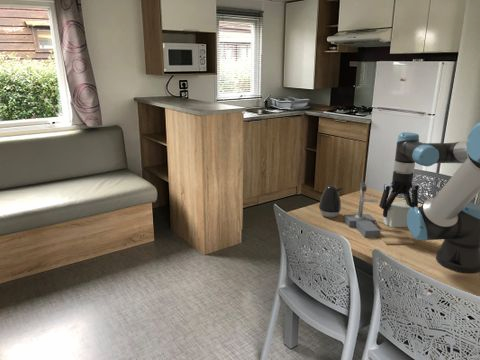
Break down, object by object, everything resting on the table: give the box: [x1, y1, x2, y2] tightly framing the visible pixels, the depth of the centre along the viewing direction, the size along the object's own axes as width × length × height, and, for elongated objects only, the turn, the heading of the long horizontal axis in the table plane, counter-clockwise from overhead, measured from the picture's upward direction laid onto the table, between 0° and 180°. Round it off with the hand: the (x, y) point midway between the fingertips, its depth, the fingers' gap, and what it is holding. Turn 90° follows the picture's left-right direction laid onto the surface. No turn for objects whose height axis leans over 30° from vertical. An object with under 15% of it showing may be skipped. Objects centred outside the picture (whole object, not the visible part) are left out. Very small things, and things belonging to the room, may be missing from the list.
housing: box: [343, 213, 381, 238], centre depth 170 cm, size 18×12×4 cm, turn 5°
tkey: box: [357, 181, 379, 217], centre depth 172 cm, size 8×8×15 cm
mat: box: [378, 230, 416, 246], centre depth 161 cm, size 12×12×1 cm
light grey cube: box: [382, 201, 411, 228], centre depth 158 cm, size 8×8×8 cm
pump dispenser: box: [318, 185, 344, 219], centre depth 183 cm, size 10×10×15 cm
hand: (396, 223), depth 159 cm, fingers closed on light grey cube, 8 cm apart
